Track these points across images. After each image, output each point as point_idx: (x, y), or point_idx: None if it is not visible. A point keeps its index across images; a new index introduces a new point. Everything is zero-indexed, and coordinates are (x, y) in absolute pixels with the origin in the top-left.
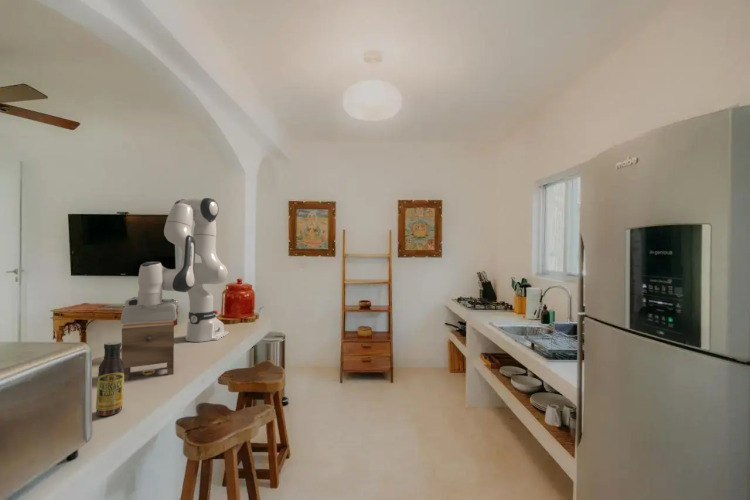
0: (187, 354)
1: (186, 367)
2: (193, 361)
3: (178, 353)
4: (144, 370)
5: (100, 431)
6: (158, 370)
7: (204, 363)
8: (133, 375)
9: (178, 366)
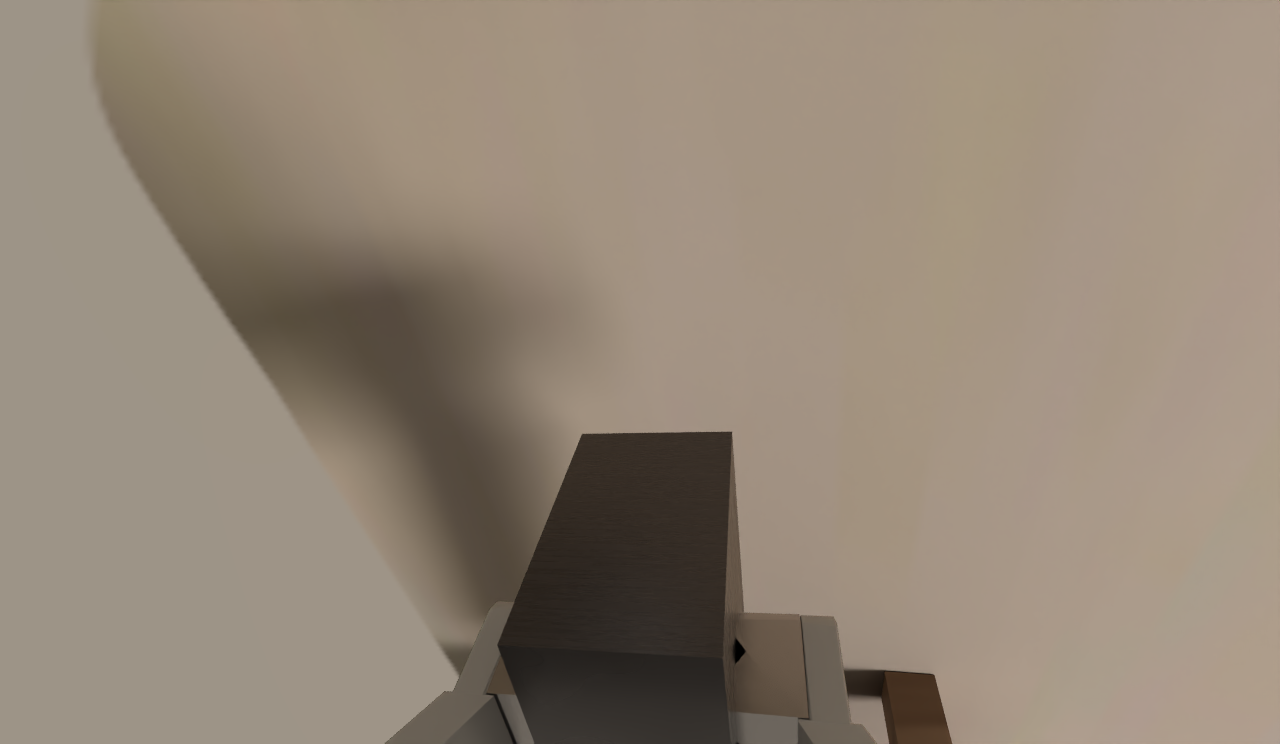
0: (1233, 358)
1: (1036, 733)
2: (1163, 637)
3: (1128, 246)
4: None
5: None
6: None
7: (1232, 720)
8: None
9: (980, 691)
